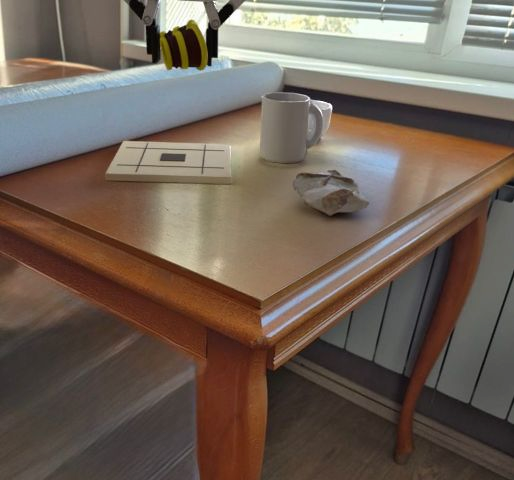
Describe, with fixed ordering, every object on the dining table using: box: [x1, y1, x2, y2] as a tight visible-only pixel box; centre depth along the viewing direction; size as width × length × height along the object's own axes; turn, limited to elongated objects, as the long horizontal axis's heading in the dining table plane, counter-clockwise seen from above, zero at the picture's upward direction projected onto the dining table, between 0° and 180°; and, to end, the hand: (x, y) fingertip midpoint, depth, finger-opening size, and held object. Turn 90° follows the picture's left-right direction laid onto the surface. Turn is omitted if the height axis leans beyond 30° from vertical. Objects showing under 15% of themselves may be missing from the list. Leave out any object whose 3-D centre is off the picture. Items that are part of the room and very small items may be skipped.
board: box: [104, 140, 232, 185], centre depth 90 cm, size 17×17×1 cm
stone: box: [291, 169, 370, 217], centre depth 78 cm, size 12×9×3 cm
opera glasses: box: [160, 19, 207, 71], centre depth 73 cm, size 10×5×5 cm, turn 7°
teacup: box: [307, 99, 333, 138], centre depth 105 cm, size 10×8×5 cm
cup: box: [259, 91, 323, 164], centre depth 94 cm, size 7×10×9 cm
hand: (182, 61), depth 74 cm, fingers closed on opera glasses, 5 cm apart
